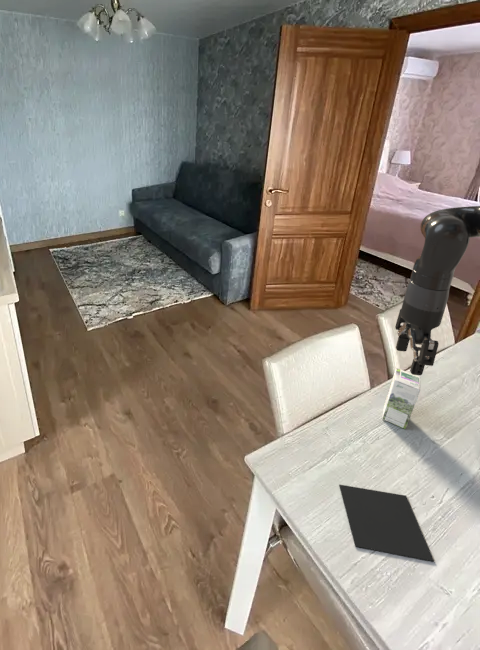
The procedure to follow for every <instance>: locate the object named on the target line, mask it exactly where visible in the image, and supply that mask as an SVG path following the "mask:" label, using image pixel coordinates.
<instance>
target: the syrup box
mask: <svg viewBox="0 0 480 650" xmlns="http://www.w3.org/2000/svg"><path fill="white" fill-rule="evenodd" d="M390 382H391V383H390V385H389V389H388V392H387V395H386V398H385V400H384V404H383V410H382V417H381V419H382V420H383V421H384V422H387V423H389V424H391V425H394V426H397V427H399V428H401V429H404V430H406V429H407V427H408V424H409V422H410V419H411V417H412V416H411V415H412V413H413V411H414V408H415V406H416V403H417V400H418V397H419V395H420V392H421V375H413V374H411V372H410V371H406V370H403V369H400V368H398V367H397V368H395V371H394V373H393V376H392V380H391V381H390Z"/></svg>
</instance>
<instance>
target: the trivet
mask: <svg viewBox="0 0 480 650" xmlns="http://www.w3.org/2000/svg"><path fill="white" fill-rule="evenodd" d="M338 486H339V490H340V495H341V498H342V501H343V505H344V509H345V513H346V517H347V521H348V524H349V528H350V532H351V536H352V539H353V543H354V547H355V548H359V549H364V550H368V551H375V552H380V553H385V554H391V555H395V556H401V557H406V558H412V559H417V560H422V561H427V562H432V563H433V562H435V560H434V558H433V555H432V552H431V550H430V548H429V546H428V543H427V541H426V539H425V537H424V534H423V532H422V530H421V527H420V524H419V522H418V519H417V517H416V515H415V513H414V511H413V509H412V506H411V503H410V501H409V498H408V497H407V495H405V494H400V493H399V494H398V493H392V492H386V491H381V490H376V489H369V488H364V487H363V488H362V487H357V486H352V485H346V484H339V485H338Z"/></svg>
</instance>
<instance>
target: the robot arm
mask: <svg viewBox="0 0 480 650" xmlns="http://www.w3.org/2000/svg"><path fill="white" fill-rule="evenodd" d="M419 227H420V232H421V234H422V236H423V238H424V243H423V247H422V251H421V254H420V255H418V256H417V257H416V259H415V260H414V264H413V267H412V271H411V274H410V279H409V281H408V284H407V285H406V290H405V292H404V297H403V301H402V304H401V308H400V309H399V311H398V316H397V319H396V323H395V325H394V326H395V327H394V329H395V330H397V333H396V334H397V336H398V337H397V340H396V345H395V349H396V351H398V352H407V350H408V347H409V345H410V347H409V348H410V350H411V351H412V352H413V354H412V355H413V359H412V362H411V366H410V371H409V373H411V374H413V375H418V376H422V375H423V373H424V370H425V367H426V366H427V367H429V366H430V367H433V366H434V364H435V359H436V357H437V352H438V348H439V341H438V340H434V339H432V330H434V329H436V328H438V327H440V326H441V323H442V321H443V318H444V314H445V310H446V307H447V304H448V301H449V295H450V288H451V286H452V282H453V279H454V276H455V270H456V269H457V267H458V265H459V264H460V263H461V260H462V258H463V257H464V255H465V254H466V252H467V249H468V247H469V245H470V239H471V238H480V205H472V206H457V207H449V208H448V207H447V208H442V209H438V210H435V211H432V212H430V213H429V214H427V215H425V217H424V218H423V219H422V220H421V222H420V226H419ZM401 324H402V325H401ZM409 343H410V344H409ZM417 345H419V346H417Z"/></svg>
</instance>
